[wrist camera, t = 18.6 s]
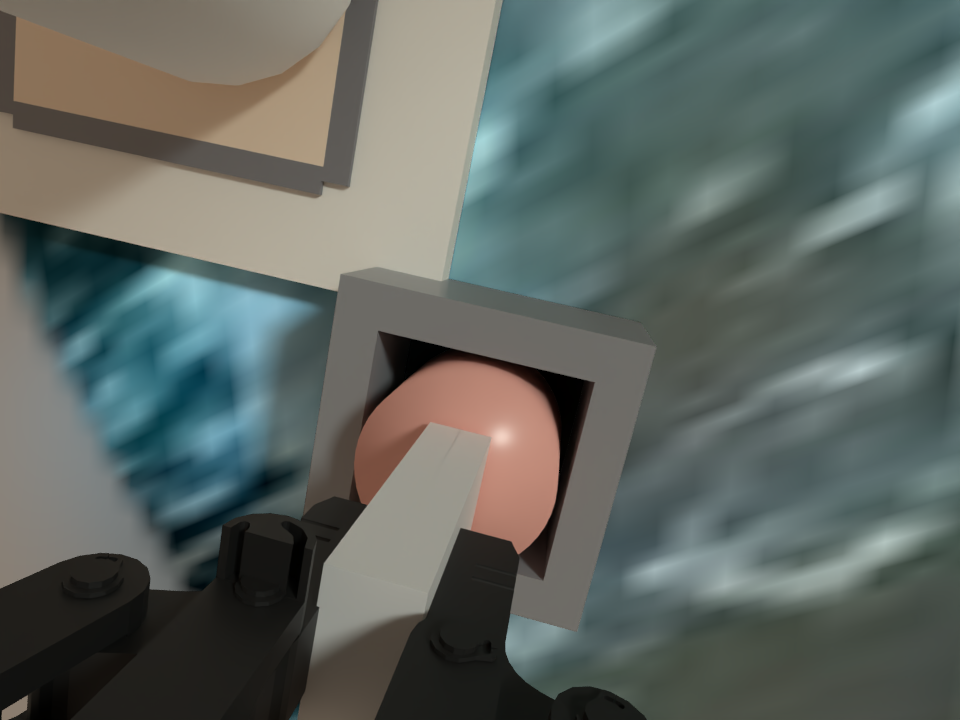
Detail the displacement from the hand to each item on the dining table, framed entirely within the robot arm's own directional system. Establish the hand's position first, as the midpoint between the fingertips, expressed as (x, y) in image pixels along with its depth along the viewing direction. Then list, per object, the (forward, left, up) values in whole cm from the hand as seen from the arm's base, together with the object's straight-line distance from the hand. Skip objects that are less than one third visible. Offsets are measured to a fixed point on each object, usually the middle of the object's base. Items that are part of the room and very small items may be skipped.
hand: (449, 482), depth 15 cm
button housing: (0, 0, -6) cm, 6 cm away
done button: (0, 0, -4) cm, 4 cm away
